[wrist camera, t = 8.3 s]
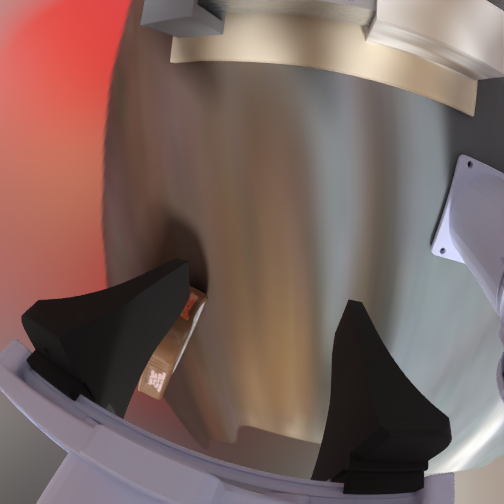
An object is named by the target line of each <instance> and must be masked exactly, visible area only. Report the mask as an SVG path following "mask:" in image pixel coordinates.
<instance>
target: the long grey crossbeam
mask: <svg viewBox="0 0 504 504" xmlns="http://www.w3.org/2000/svg"><path fill="white" fill-rule="evenodd" d="M197 5H199V6H201V7H202V8H204V9H205V10H207V11H208V12H210V13H211V14H226V13H276V14H292V15H302V16H311V17H319V18H326V19H332V20H338V21H344V22H349V23H354V24H358V25H363V26H367V27H370V26H371V24H372V22H373V19H374V17H375V15H376V0H198V2H197Z"/></svg>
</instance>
